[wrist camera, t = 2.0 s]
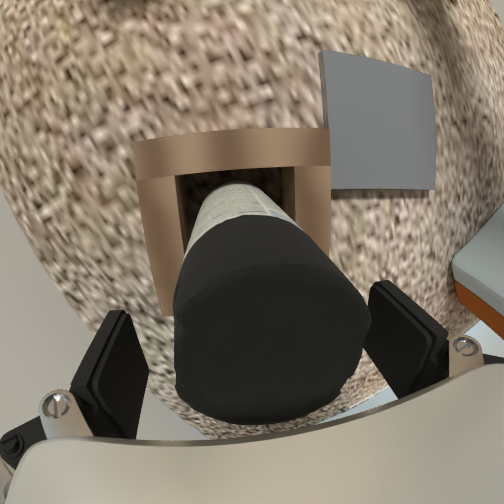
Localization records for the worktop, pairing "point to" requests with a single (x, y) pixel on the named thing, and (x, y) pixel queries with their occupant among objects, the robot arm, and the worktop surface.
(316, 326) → the spray can
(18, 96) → the worktop surface
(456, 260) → the alarm clock
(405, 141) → the slate coaster
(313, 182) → the walnut collar
